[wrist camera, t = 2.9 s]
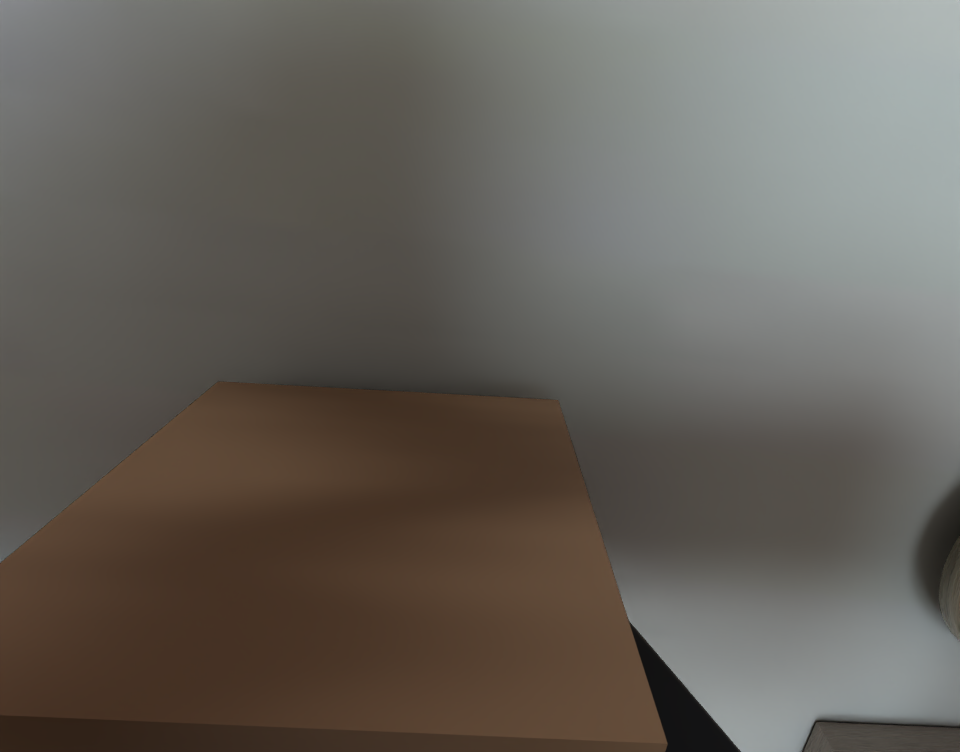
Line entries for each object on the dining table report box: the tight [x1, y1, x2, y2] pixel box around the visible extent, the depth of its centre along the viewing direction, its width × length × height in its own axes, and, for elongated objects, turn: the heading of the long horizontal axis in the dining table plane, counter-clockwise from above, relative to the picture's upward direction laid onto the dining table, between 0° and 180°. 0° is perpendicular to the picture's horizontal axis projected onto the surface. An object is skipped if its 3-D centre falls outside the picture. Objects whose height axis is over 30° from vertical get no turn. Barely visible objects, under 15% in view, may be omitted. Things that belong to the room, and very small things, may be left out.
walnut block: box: [0, 381, 668, 752], centre depth 6 cm, size 5×5×5 cm
